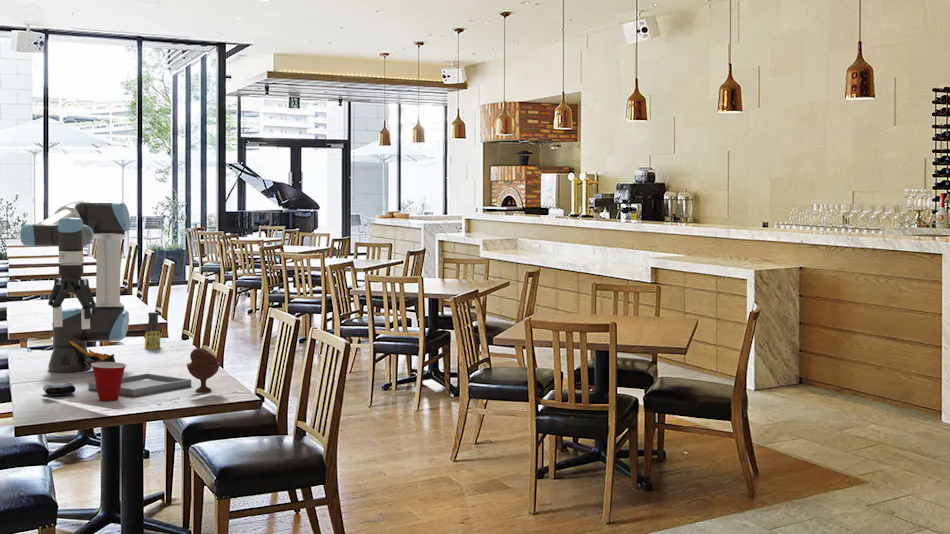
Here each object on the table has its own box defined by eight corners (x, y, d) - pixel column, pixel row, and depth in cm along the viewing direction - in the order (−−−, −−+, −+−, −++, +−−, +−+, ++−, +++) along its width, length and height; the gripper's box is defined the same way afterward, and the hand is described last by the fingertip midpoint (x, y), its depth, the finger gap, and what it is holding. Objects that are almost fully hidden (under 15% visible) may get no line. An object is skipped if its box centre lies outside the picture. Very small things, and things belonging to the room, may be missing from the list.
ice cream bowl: (202, 395, 296) (201, 350, 296) (180, 392, 302) (179, 348, 301) (226, 390, 305) (226, 347, 305) (204, 387, 311) (204, 345, 310)
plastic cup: (126, 401, 285) (126, 364, 284) (90, 403, 281) (89, 366, 281) (127, 395, 295) (127, 360, 295) (92, 397, 292) (92, 361, 291)
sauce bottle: (145, 359, 377) (145, 313, 376) (143, 357, 382) (143, 312, 381) (161, 358, 380) (161, 312, 379) (159, 356, 385) (159, 311, 384)
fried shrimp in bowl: (124, 365, 336) (100, 324, 333) (98, 379, 328) (73, 337, 326) (116, 368, 342) (92, 328, 340) (90, 383, 335) (66, 342, 333)
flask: (45, 387, 290) (42, 384, 299) (45, 396, 290) (42, 393, 299) (75, 384, 295) (72, 381, 304) (76, 393, 295) (72, 390, 304)
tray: (88, 389, 305) (88, 382, 305) (147, 380, 326) (147, 373, 326) (132, 397, 293) (132, 389, 292) (191, 386, 313) (191, 379, 313)
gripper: (36, 264, 297) (37, 327, 297) (87, 265, 285) (88, 330, 286) (55, 263, 303) (56, 325, 304) (106, 264, 292) (107, 328, 293)
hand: (71, 328), depth 295 cm, fingers open, 13 cm apart
